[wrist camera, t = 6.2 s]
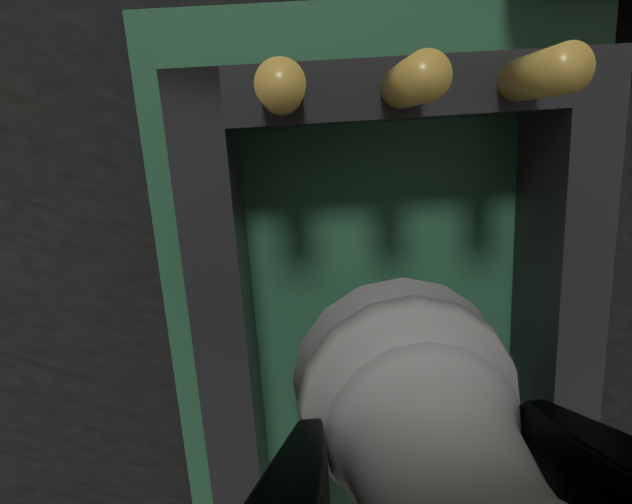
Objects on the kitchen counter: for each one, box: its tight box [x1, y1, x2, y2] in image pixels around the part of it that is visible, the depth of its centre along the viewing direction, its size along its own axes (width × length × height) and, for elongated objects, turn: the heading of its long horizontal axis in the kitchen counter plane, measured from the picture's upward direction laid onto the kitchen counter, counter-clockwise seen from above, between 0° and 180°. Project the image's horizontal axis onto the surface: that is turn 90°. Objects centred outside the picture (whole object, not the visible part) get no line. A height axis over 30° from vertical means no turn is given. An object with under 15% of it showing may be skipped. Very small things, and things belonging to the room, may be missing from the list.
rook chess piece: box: [292, 277, 568, 504], centre depth 7 cm, size 4×4×8 cm
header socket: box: [122, 0, 632, 504], centre depth 9 cm, size 13×10×4 cm
